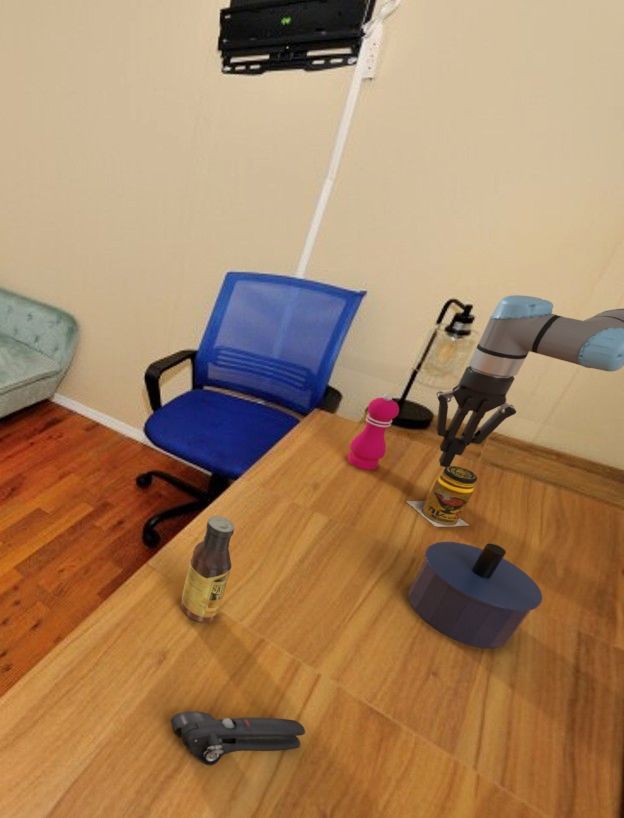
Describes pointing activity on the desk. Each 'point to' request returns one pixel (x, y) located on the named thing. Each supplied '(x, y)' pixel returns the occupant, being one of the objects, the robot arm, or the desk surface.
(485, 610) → the pot
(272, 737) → the can opener
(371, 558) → the desk surface
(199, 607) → the sauce bottle
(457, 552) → the pot lid
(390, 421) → the pepper mill
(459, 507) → the condiment
